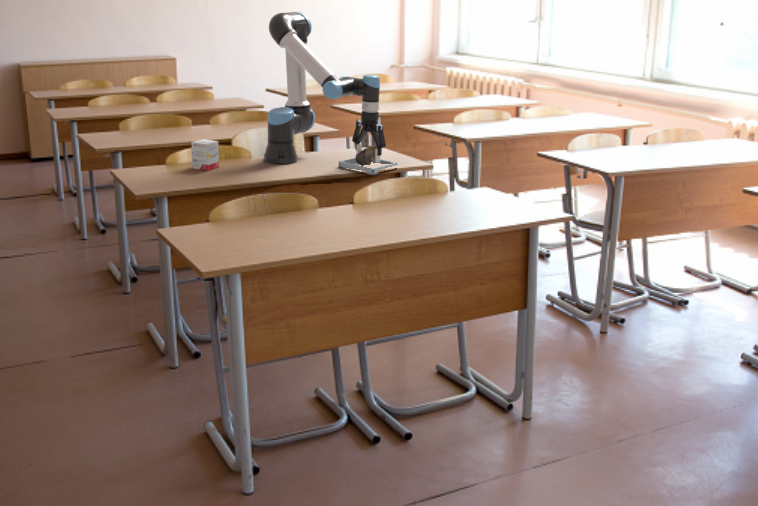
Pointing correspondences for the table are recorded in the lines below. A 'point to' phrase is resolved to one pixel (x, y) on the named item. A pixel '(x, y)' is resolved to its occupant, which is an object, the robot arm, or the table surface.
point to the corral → (353, 164)
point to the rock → (366, 155)
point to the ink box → (205, 154)
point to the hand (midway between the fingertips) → (368, 160)
